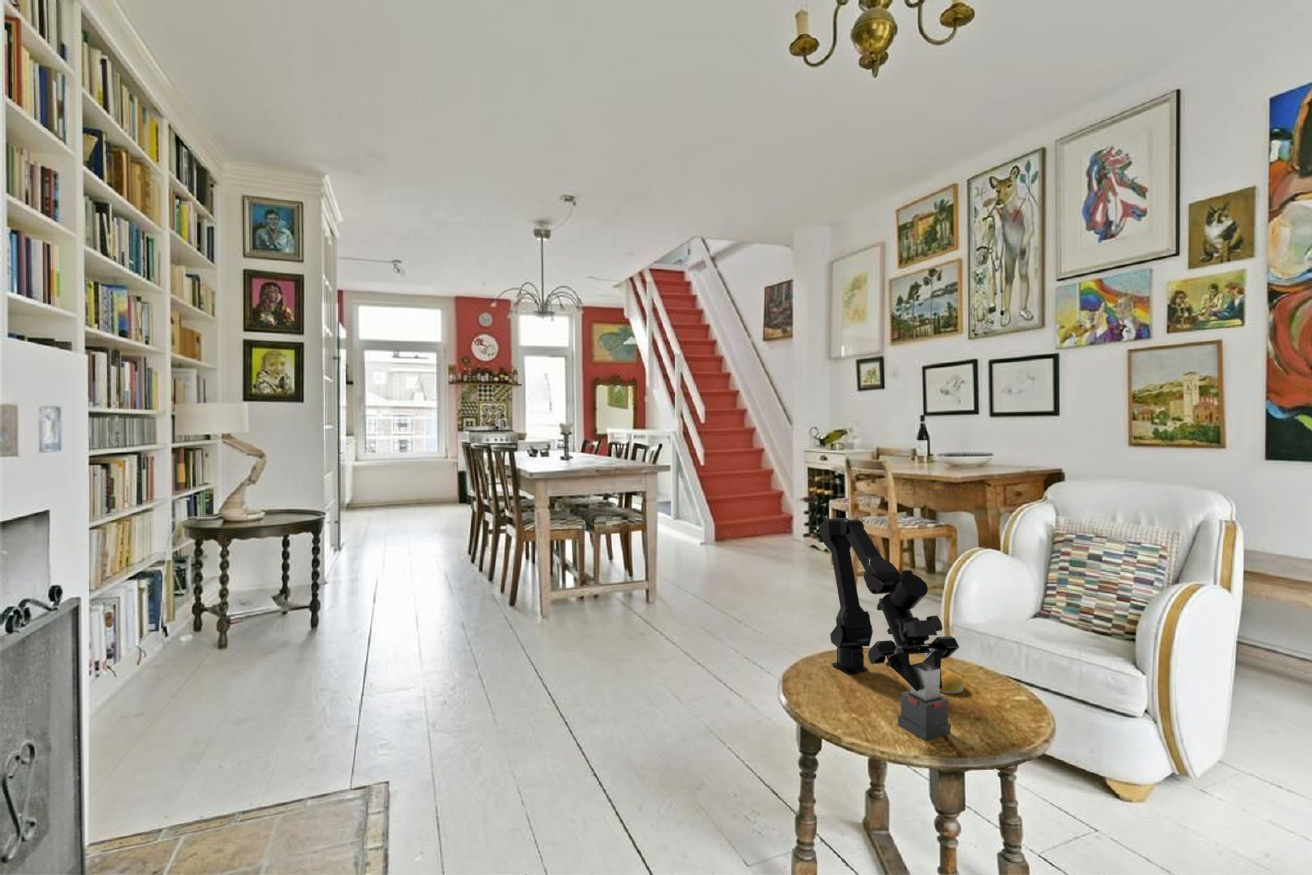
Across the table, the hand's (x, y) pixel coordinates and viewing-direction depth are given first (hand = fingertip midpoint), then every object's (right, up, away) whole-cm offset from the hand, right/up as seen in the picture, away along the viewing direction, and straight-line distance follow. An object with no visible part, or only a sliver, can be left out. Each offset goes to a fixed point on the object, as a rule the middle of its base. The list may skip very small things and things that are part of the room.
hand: (929, 689), depth 131 cm
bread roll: (+13, -9, +23) cm, 27 cm away
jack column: (0, -7, +2) cm, 7 cm away
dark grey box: (0, -9, +2) cm, 9 cm away
